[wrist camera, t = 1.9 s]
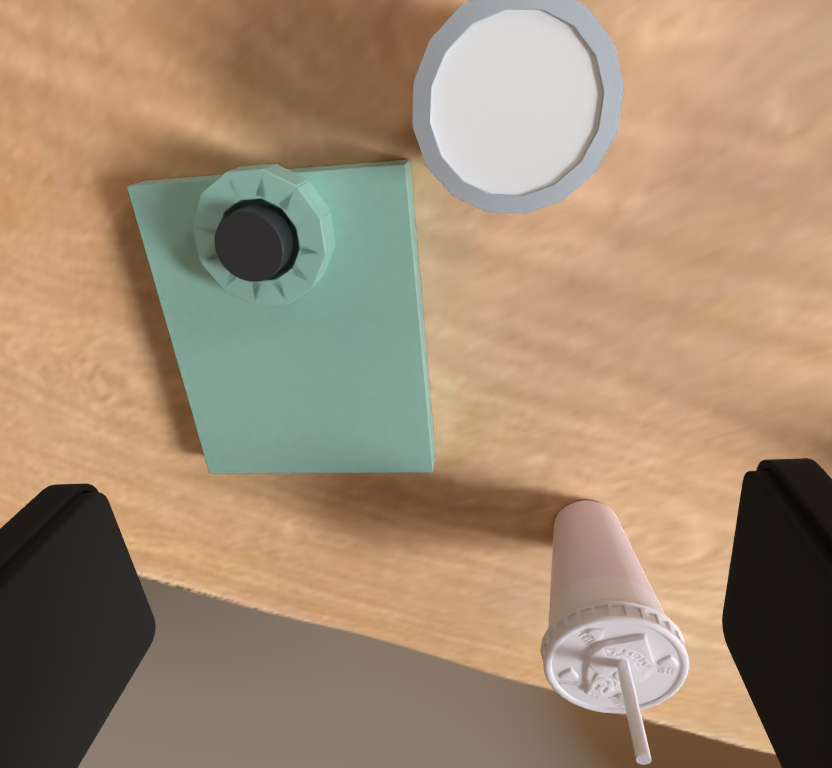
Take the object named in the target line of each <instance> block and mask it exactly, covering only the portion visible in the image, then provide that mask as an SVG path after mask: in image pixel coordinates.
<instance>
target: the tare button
mask: <svg viewBox="0 0 832 768" xmlns="http://www.w3.org/2000/svg"><path fill="white" fill-rule="evenodd" d="M293 249H294V238H293V234H292V231H291V228H290V226H289V224H288V223H287V221H286V220H285V219H284V218H283V216H281V215H280V214H279V213H278V212H277V211H275V210H274V209H272V208H270V207H267V206H264V205H248V206H245V207H243V208H241V209H239V210H237V211H235V212H233V213H231V214H229V215H228V216H226V217H225V218H224V219H223V220H222V221H221V222H220V224H219V225H218V227H217V230H216V233H215V250H216V253H217V256H218V258H219V260H220V262H221V263H222V265H223V266H224V267H225V268H226V269H227V270H228V271H229V272H230V273H231V274H232V275H234V276H236V277H237V278H239V279H242V280H245V281H249V282H260V281H264V280H267V279H269V278H271V277H272V276H273V275H275V274H276V273H277V272H278V271H279V270H280V269H281V268H283V267H284V266H285V265H286V264H287V263H288V261H289V260H290V258H291V256H292V253H293Z"/></svg>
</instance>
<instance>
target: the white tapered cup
mask: <svg viewBox="0 0 832 768" xmlns="http://www.w3.org/2000/svg"><path fill="white" fill-rule="evenodd" d="M623 92H624V85H623V81H622V76H621V71H620V67H619V62H618V57H617V53H616V48H615V43H614V42H613V40H612V39H611V38H610V36H609V35H608V34H607V32H606V31H605V29H604V28H603V27H602V25H601V24H600V23H599V21H598V20H597V18H596V17H595V16H594V14H593V13H592V11H591V10H590V9H589V7H588V6H586V5H584V4H582V3H580V2H578V1H576V0H470V1H468V2H466V3H464V4H462V5H461V6H460V7H459V8H458V9H457V10H456V11H455V13H454V14H453V15H452V16H451V17H450V18H449V19H448V20H447V21H446V22H445V23H444V25H443V26H442V27H441V28H440V29H439V30H438V31H437V32H436V33H435V34H434V35H433V37H432V38H431V39H430V41H429V44H428V46H427V49H426V51H425V54H424V56H423V59H422V61H421V64H420V66H419V69H418V71H417V74H416V77H415V79H414V82H413V120H412V127H413V130H414V133H415V135H416V138H417V141H418V144H419V147H420V150H421V152H422V155H423V158H424V161H425V164H426V166H427V167H428V168H429V170H430V171H431V172H432V173H433V174H434V175H435V176H436V178H437V179H438V180H439V181H440V182H441V183H442V184H443V186H444V187H445V188H446V189H447V190H448V191H449V192H450V194H451V195H452V196H454V197H456V198H458V199H460V200H462V201H465V202H467V203H469V204H471V205H473V206H475V207H477V208H479V209H481V210H483V211H485V212H495V213H515V214H526V213H529V212H532V211H534V210H537V209H540V208H543V207H546V206H549V205H551V204H554V203H557V202H560V201H562V200H564V199H565V198H566V197H567V196H568V195H569V194H571V193H572V192H573V191H574V190H575V189H577V188H578V187H579V186H580V185H581V184H582V183H584V182H585V181H586V180H587V179H588V178H589V177H591V176H592V175H593V174H594V173H595V172H596V170H597V168H598V166H599V164H600V163H601V161H602V159H603V157H604V156H605V154H606V152H607V150H608V149H609V147H610V145H611V143H612V141H613V140H614V138H615V136H616V134H617V129H618V123H619V117H620V111H621V105H622V99H623Z"/></svg>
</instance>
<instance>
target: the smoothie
mask: <svg viewBox="0 0 832 768" xmlns="http://www.w3.org/2000/svg"><path fill="white" fill-rule="evenodd" d="M541 655H542V659H543V664H544V672H545V675H546V678H547V680H548V682H549V684H550V685H551V686H552V688H553V689H554V690H555V691H556V692H557V693H558V694H559V695H561V696H562V697H563V698H565V699H566V700H568V701H569V702H572V703H573V704H576V705H578V706H580V707H583V708H586V709H590V710H593V711H599V712H605V713H626V714H627V718H628V723H629V728H630V733H631V737H632V742H633V747H634V752H635V756H636V761H637V762H638V763H639V764H649V763H650V762H651V755H650V751H649V747H648V743H647V738H646V734H645V730H644V725H643V721H642V717H641V712H640V710H645V709H648V708H650V707H653V706H656V705H658V704H660V703H662V702H664V701H665V700H667V699H669V698H670V697H671V696H672V695H674V694H675V693H676V692H677V691H678V690H679V689H680V688H681V686H682V685H683V684H684V682H685V680H686V678H687V675H688V672H689V657H688V654H687V651H686V648H685V641H684V638H683V636H682V634H681V632H680V630H679V628H678V626H677V625H675V624H674V623H673V622H672V621H671V620H670V619H669V618H668V617H667V616H666V615H665V614H664V611H663V609H662V607H661V605H660V603H659V601H658V599H657V597H656V595H655V593H654V591H653V589H652V587H651V585H650V583H649V581H648V579H647V577H646V575H645V573H644V571H643V569H642V567H641V565H640V563H639V561H638V559H637V557H636V555H635V553H634V551H633V549H632V546H631V544H630V542H629V540H628V538H627V536H626V534H625V532H624V530H623V528H622V526H621V524H620V522H619V520H618V518H617V516H616V514H615V513H614V511H613V510H612V509H611V508H609V507H608V506H606V505H605V504H603V503H600V502H596V501H589V500H586V501H578V502H574V503H571V504H569V505H567V506H566V507H564V508H563V509H562V510H561V511H560V512H559V513H558V514H557V516H556V518H555V521H554V533H553V553H552V572H551V592H550V611H549V627H548V629H547V631H546V633H545V635H544V636H543V638H542V645H541Z"/></svg>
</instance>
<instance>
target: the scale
mask: <svg viewBox="0 0 832 768" xmlns="http://www.w3.org/2000/svg"><path fill="white" fill-rule="evenodd" d="M127 189H128V193H129V196H130V200H131V203H132V207H133V210H134V213H135V217H136V220H137V224H138V227H139V231H140V234H141V238H142V241H143V245H144V248H145V252H146V255H147V259H148V262H149V266H150V269H151V273H152V276H153V279H154V283H155V286H156V290H157V293H158V297H159V300H160V304H161V307H162V311H163V314H164V318H165V321H166V325H167V328H168V332H169V335H170V339H171V342H172V345H173V349H174V352H175V356H176V359H177V363H178V366H179V370H180V373H181V377H182V380H183V384H184V387H185V391H186V394H187V398H188V401H189V404H190V408H191V411H192V415H193V418H194V422H195V425H196V429H197V432H198V436H199V439H200V443H201V446H202V450H203V453H204V457H205V460H206V464H207V467H208V470H209V473H210V474H249V473H423V472H433V470H434V463H435V457H436V453H435V441H434V430H433V418H432V407H431V395H430V383H429V372H428V360H427V349H426V337H425V325H424V314H423V302H422V291H421V279H420V267H419V256H418V244H417V233H416V221H415V209H414V198H413V186H412V174H411V163H410V160H409V159H407V160H395V161H382V162H370V163H358V164H345V165H333V166H320V167H308V168H295V169H286V168H284V167H282V166H280V165H278V164H262V165H249V166H242V167H239V168H236V169H233V170H230V171H227V172H225V173H224V174H220V175H208V176H195V177H183V178H170V179H158V180H145V181H142V182H139V183H135V184H132V185H128V186H127ZM248 205H264V206H267V207H270V208H272V209H274V210H275V211H277V212H278V213H279V214H280V215H281V216H283V218H284V219H285V220H286V221H287V223H288V224H289V226H290V228H291V231H292V234H293V238H294V249H293V253H292V256H291V258H290V260H289V261H288V263H287V264H286V265H285V266H284V267H283V268H281V269H280V270H279V271H278V272H277V273H276V274H275V275H273V276H272V277H271V278H269V279H267V280H264V281H260V282H249V281H245V280H242V279H239V278H237V277H236V276H234V275H232V274H231V273H230V272H229V271H228V270H227V269H226V268H225V267H224V266H223V265H222V263H221V262H220V260H219V258H218V256H217V253H216V250H215V233H216V230H217V227H218V225H219V224H220V222H221V221H222V220H223V219H224V218H225V217H226V216H228V215H229V214H231V213H233V212H235V211H237V210H239V209H241V208H243V207H245V206H248Z"/></svg>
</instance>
